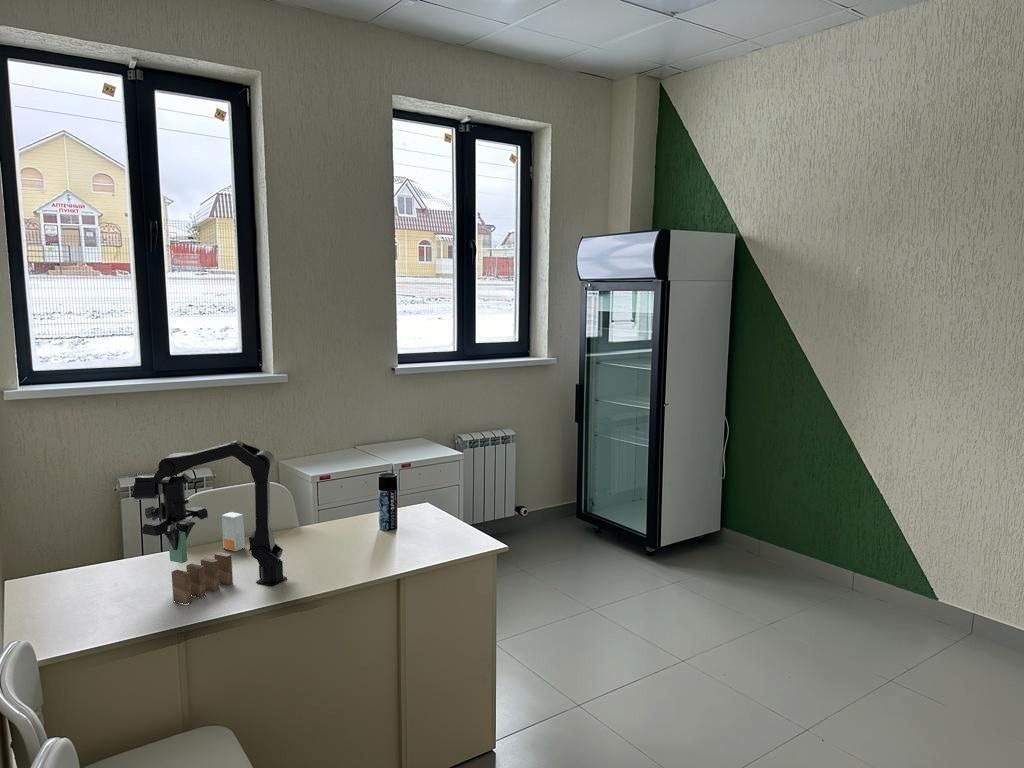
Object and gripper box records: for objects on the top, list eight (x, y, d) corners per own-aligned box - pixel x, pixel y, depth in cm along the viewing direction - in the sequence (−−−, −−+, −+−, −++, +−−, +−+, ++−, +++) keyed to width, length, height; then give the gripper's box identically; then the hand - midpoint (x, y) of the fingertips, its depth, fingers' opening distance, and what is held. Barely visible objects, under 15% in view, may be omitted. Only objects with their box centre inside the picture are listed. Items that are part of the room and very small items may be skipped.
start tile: (175, 558, 210) (172, 529, 209) (187, 561, 208) (185, 531, 207) (170, 560, 208) (167, 531, 207) (182, 563, 206) (180, 533, 205)
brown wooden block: (178, 599, 200) (176, 569, 199) (191, 603, 198) (189, 572, 197) (173, 602, 198) (171, 571, 197) (186, 605, 196) (184, 574, 195)
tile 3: (207, 586, 209) (205, 557, 208) (219, 589, 207) (218, 560, 206) (202, 589, 207) (200, 559, 206) (214, 591, 205) (213, 562, 204)
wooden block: (220, 580, 213) (219, 552, 212) (232, 583, 211) (231, 554, 210) (215, 582, 212) (214, 554, 211) (228, 585, 210) (226, 556, 208)
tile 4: (193, 593, 204) (191, 563, 203) (205, 596, 202) (204, 566, 201) (188, 595, 203) (186, 565, 202) (200, 598, 201) (198, 568, 200)
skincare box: (222, 548, 240) (220, 514, 239) (233, 544, 244) (231, 511, 242) (235, 551, 237) (233, 517, 236) (245, 547, 241) (243, 514, 239)
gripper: (180, 486, 217) (184, 535, 219) (126, 503, 200) (131, 556, 202) (207, 490, 213) (211, 539, 215) (154, 507, 196) (158, 561, 198)
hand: (178, 548), depth 207 cm, fingers closed on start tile, 2 cm apart
